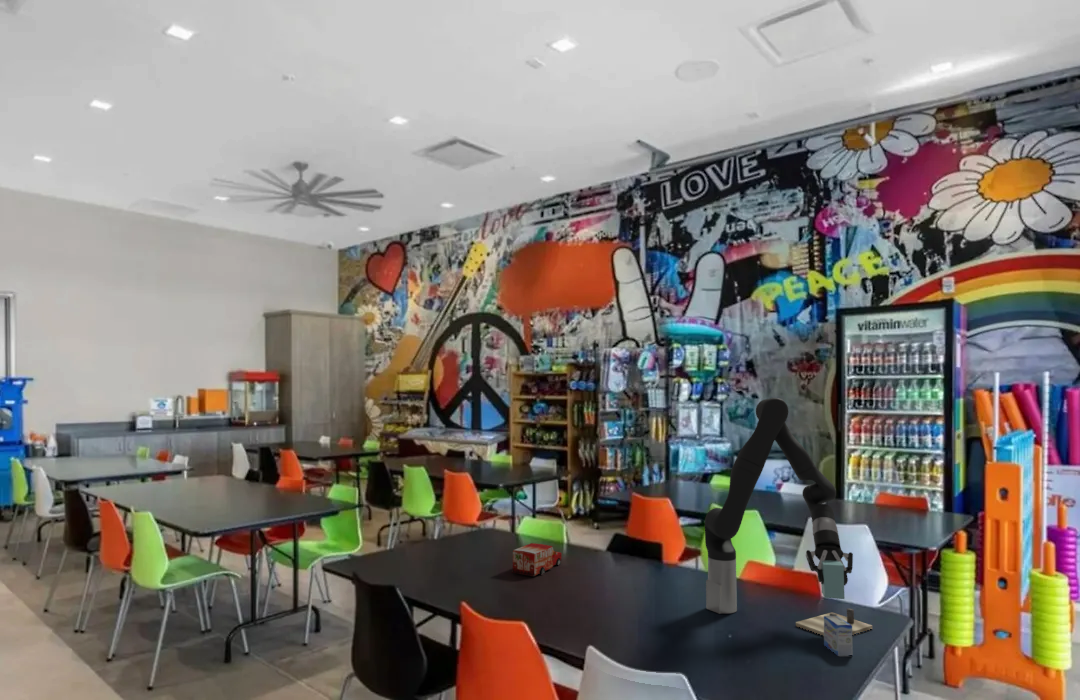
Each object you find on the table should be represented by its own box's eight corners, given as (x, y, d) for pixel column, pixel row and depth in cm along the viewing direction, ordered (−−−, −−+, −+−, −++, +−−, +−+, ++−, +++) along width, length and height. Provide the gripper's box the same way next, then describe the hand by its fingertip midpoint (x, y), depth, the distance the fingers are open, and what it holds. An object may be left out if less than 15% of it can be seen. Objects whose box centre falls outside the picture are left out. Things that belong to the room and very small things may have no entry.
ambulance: (565, 564, 281) (564, 540, 281) (534, 579, 260) (534, 553, 260) (542, 561, 286) (542, 537, 287) (511, 575, 265) (511, 549, 266)
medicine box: (823, 645, 193) (822, 615, 193) (838, 645, 193) (837, 615, 194) (838, 657, 185) (837, 625, 186) (853, 656, 186) (852, 624, 186)
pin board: (835, 640, 197) (835, 622, 197) (795, 626, 209) (795, 609, 209) (872, 629, 206) (871, 612, 206) (832, 615, 218) (831, 599, 218)
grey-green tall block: (844, 599, 201) (843, 565, 202) (824, 597, 203) (823, 564, 203) (841, 593, 207) (839, 560, 207) (821, 592, 208) (820, 559, 209)
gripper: (803, 527, 215) (809, 575, 202) (851, 529, 211) (860, 578, 199) (801, 540, 219) (807, 588, 207) (848, 542, 216) (857, 591, 204)
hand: (833, 583), depth 203 cm, fingers closed on grey-green tall block, 5 cm apart
